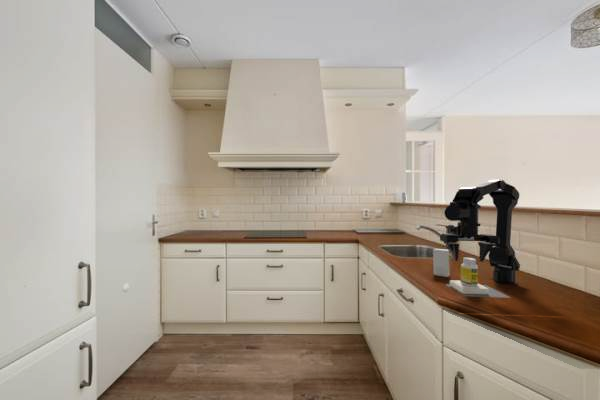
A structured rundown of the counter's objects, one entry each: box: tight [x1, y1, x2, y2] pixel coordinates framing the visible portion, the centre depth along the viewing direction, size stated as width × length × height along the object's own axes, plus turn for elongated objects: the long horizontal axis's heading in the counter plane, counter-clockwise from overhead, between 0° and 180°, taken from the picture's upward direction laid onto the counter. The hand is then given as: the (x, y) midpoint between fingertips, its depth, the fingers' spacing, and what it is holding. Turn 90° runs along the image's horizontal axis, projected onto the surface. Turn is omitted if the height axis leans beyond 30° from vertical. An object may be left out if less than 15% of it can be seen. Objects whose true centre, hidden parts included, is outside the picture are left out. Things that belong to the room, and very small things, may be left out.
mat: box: [445, 283, 511, 299], centre depth 95 cm, size 16×13×1 cm
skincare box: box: [432, 248, 450, 278], centre depth 115 cm, size 6×4×12 cm
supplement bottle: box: [460, 257, 479, 286], centre depth 95 cm, size 5×5×10 cm
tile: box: [449, 279, 489, 295], centre depth 95 cm, size 2×9×9 cm
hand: (468, 261), depth 95 cm, fingers open, 9 cm apart
